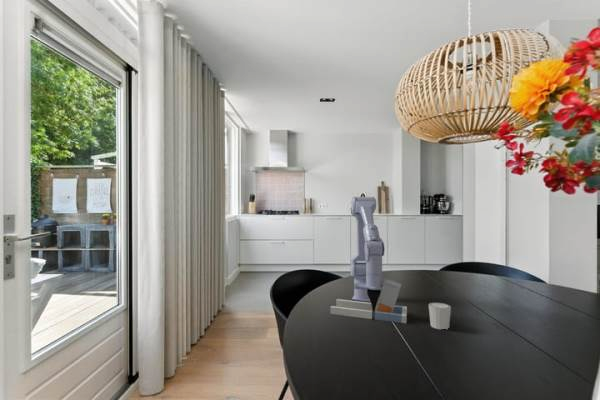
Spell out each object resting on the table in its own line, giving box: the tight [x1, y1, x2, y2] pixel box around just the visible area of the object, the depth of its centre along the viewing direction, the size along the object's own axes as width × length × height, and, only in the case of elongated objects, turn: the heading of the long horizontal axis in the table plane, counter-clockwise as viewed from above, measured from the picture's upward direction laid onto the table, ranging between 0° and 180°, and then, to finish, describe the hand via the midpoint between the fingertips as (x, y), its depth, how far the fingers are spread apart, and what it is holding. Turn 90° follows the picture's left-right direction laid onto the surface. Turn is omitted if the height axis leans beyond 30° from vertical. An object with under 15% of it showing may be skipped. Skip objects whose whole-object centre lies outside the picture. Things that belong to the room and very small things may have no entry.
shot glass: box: [428, 301, 452, 330], centre depth 104 cm, size 7×7×7 cm
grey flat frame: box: [329, 298, 408, 324], centre depth 116 cm, size 11×26×2 cm, turn 70°
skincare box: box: [374, 278, 402, 313], centre depth 114 cm, size 6×4×12 cm
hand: (374, 310), depth 115 cm, fingers closed
